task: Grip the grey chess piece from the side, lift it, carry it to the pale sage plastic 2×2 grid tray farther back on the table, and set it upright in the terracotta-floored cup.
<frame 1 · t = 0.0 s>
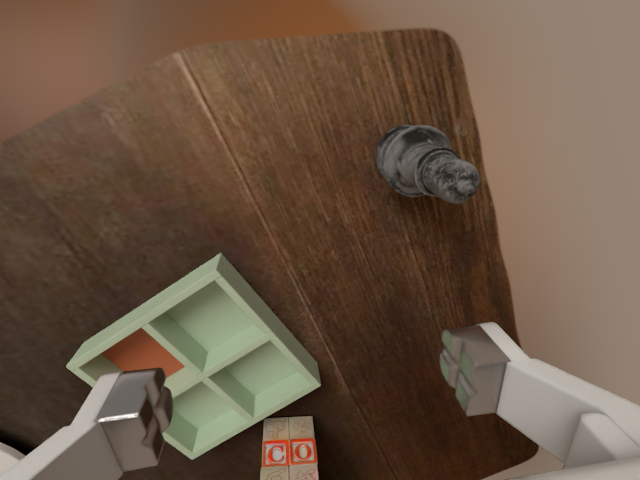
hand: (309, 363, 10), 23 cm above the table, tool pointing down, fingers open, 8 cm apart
grid: (208, 353, 38), on the table
grey chess piece: (402, 154, 32), on the table
stack of blocks: (285, 470, 47), on the table
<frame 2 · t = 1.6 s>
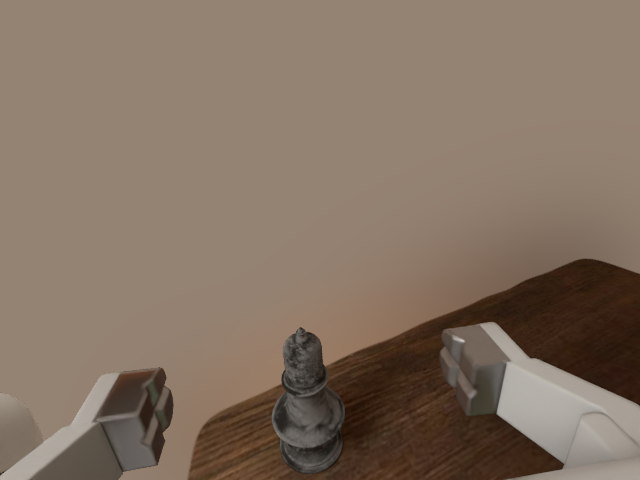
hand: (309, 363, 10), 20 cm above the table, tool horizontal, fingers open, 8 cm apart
grey chess piece: (311, 443, 29), on the table
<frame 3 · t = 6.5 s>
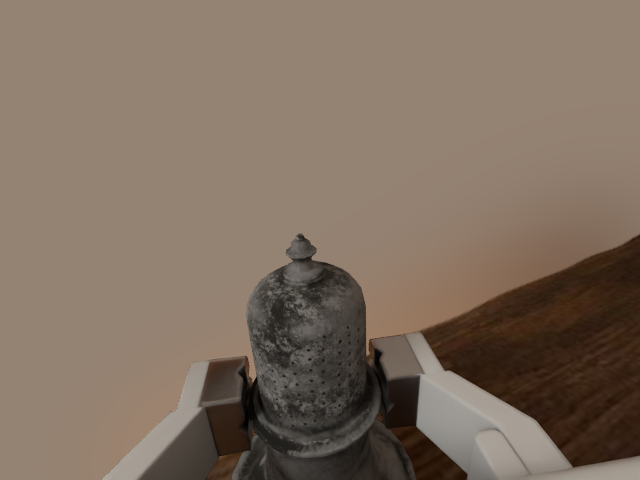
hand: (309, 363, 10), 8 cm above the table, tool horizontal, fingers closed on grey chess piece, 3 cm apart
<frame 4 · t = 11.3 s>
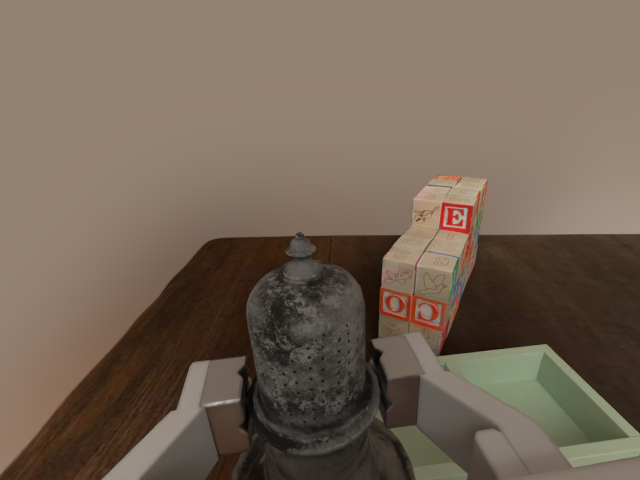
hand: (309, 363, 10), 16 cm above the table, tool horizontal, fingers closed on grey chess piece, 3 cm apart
stack of blocks: (433, 296, 42), on the table
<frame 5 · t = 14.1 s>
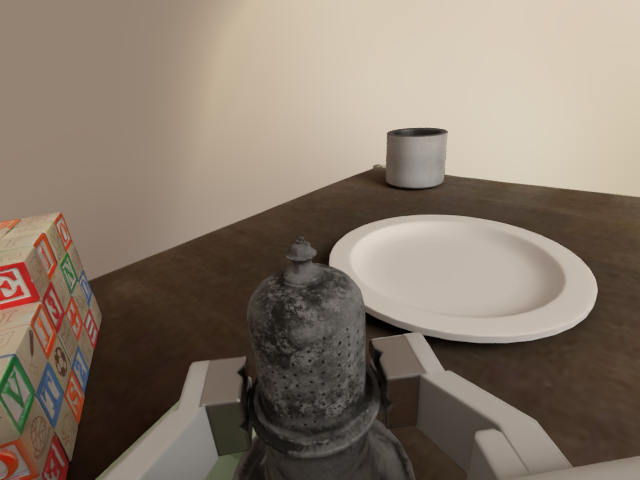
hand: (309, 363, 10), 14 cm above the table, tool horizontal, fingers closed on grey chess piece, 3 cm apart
plate: (446, 275, 42), on the table
planter: (414, 184, 78), on the table
stack of blocks: (46, 399, 28), on the table
when the fingers open (8 cm above the table, at t = 16.0 s): grey chess piece stays where it is, resting on grid.
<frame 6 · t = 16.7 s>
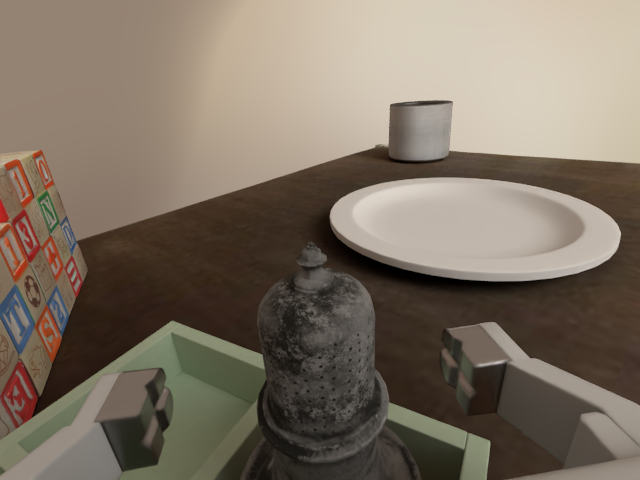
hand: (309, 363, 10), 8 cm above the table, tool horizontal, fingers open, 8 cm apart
plate: (454, 230, 39), on the table
planter: (417, 158, 76), on the table
stack of blocks: (20, 342, 26), on the table
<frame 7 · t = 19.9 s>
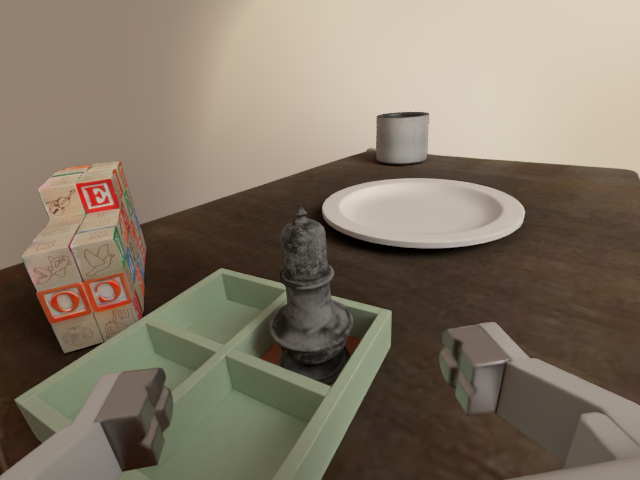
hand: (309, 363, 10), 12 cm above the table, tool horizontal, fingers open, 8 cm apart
grid: (233, 387, 25), on the table
grey chess piece: (314, 362, 26), resting on grid
plate: (415, 218, 52), on the table
planter: (401, 161, 89), on the table
stack of blocks: (116, 288, 39), on the table
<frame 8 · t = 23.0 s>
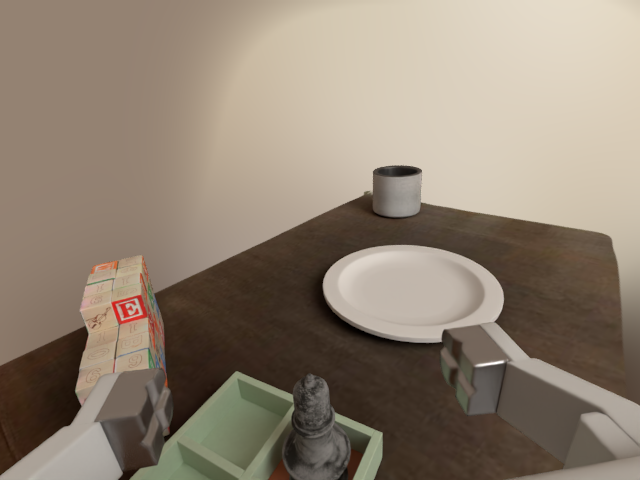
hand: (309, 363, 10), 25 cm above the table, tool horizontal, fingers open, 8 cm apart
grey chess piece: (318, 476, 31), resting on grid
plate: (407, 294, 58), on the table
planter: (396, 212, 94), on the table
stack of blocks: (141, 378, 44), on the table
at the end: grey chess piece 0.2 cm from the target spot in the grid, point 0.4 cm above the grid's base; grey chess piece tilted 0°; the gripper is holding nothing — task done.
